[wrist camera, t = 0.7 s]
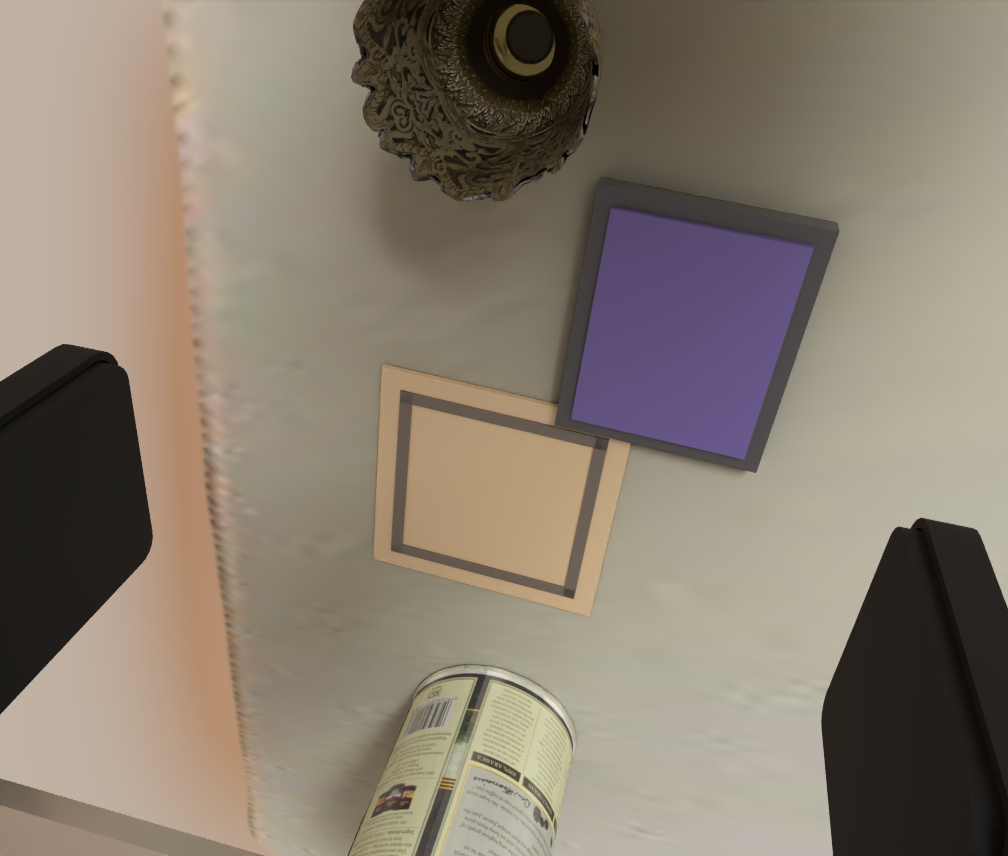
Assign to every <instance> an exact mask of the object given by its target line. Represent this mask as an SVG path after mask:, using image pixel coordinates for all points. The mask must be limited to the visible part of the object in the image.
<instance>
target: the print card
mask: <svg viewBox="0 0 1008 856" xmlns="http://www.w3.org/2000/svg"><path fill="white" fill-rule="evenodd" d="M557 408H558V404H554V403H550V402H546V401H542V400H537V399H533V398H529V397H524V396H520V395H516V394H511V393H507V392H503V391H499V390H494V389H490V388H486V387H481V386H477V385H473V384H469V383H464V382H460V381H456V380H451V379H447V378H443V377H438V376H434V375H430V374H426V373H421V372H417V371H413V370H408V369H404V368H400V367H395V366H391V365H387V364H384V365H383V366H382V373H381V395H380V418H379V440H378V462H377V485H376V507H375V529H374V551H373V559H376V560H379V561H383V562H387V563H391V564H394V565H398V566H402V567H406V568H409V569H413V570H417V571H421V572H424V573H428V574H432V575H436V576H439V577H443V578H447V579H451V580H454V581H458V582H462V583H466V584H469V585H473V586H477V587H481V588H484V589H488V590H492V591H495V592H499V593H503V594H507V595H510V596H514V597H518V598H522V599H525V600H529V601H533V602H537V603H540V604H544V605H548V606H552V607H555V608H559V609H563V610H567V611H570V612H574V613H578V614H582V615H585V616H589V617H590V614H591V609H592V605H593V601H594V597H595V593H596V588H597V584H598V580H599V576H600V572H601V568H602V563H603V559H604V555H605V551H606V547H607V543H608V538H609V534H610V530H611V526H612V522H613V518H614V513H615V509H616V505H617V501H618V497H619V493H620V488H621V484H622V480H623V476H624V472H625V467H626V463H627V459H628V455H629V451H630V447H631V443H628V442H623V441H619V440H615V439H611V438H606V437H602V436H598V435H594V434H589V433H585V432H581V431H577V430H573V429H568V428H564V427H560V426H556V425H555V420H556V414H557Z"/></svg>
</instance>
